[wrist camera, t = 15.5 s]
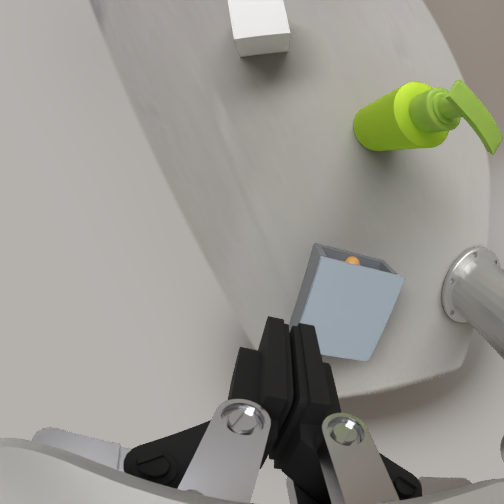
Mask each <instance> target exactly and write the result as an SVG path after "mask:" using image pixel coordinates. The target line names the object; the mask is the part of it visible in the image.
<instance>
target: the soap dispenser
mask: <svg viewBox="0 0 504 504" xmlns="http://www.w3.org/2000/svg"><path fill="white" fill-rule="evenodd" d="M461 117H463V118H464V119H465V120H466V121H467V122H468V123H469V125H470V126H471V127H472V128H473V129H474V131H475V132H476V133H477V135H478V136H479V138H480V139H481V141H482V142H483V144H484V146H485V148H486V149H487V151H488V152H490V153H491V154H492V155H494V153H495V151H496V150H497V148H498V146H499V144H500V142H501V140H502V135H501V133H500V131H499V128H498V127H497V125H496V123H495V121H494V119H493V118H492V116H491V115H490V113H489V112H488V110H487V109H486V108H485V107H484V105H483V104H482V103H481V102H480V100H479V99H478V98H477V97H476V96H475V95H474V93H473V92H472V91H471V90H470V89H469V88H468V87H467V86H466V85H465V84H464V83H463V82H462V81H461V80H457V81H455V83H454V84H453V86H452V88H451V89H450V91H448V90H446V89H443V88H434V89H433V88H432V87H430V86H429V85H427V84H424V83H421V82H410V83H407V84H405V85H403V86H401V87H399V88H398V89H396V90H394V91H392V92H390V93H389V94H387V95H385V96H383V97H382V98H380V99H378V100H376V101H375V102H373V103H371V104H369V105H368V106H366V107H364V108H363V109H361V110H360V111H359V112H358V113H357V114H356V116H355V119H354V124H353V127H354V133H355V135H356V138H357V139H358V141H359V142H360V143H361V144H362V145H363V146H364V147H366V148H367V149H369V150H372V151H387V150H400V149H416V148H432V147H436V146H438V145H440V144H441V143H442V142H443V141H444V140H445V139H446V137H447V135H448V133H449V130H453V129H455V128H456V127H457V126H458V124H459V122H460V119H461Z"/></svg>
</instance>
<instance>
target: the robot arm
mask: <svg viewBox="0 0 504 504" xmlns="http://www.w3.org/2000/svg"><path fill="white" fill-rule="evenodd" d="M442 304H443V308H444V310H445V312H446V314H447V315H448V316H449V317H450V318H451V319H452V320H453V321H455V322H459V323H467V322H469V323H470V324H471V325H472V326H473V327H474V328H475V329H476V330H477V331H478V332H479V333H480V334H481V335H482V336H483V337H484V338H485V339H486V341H487V342H488V343H489V344H490V345H491V346H492V347H493V348H494V349H495V350H496V351H497V352H498V353H499V354H500V356H501V357H503V359H504V270H503V269H502V268H500V263H499V260H498V258H497V257H496V255H495V254H494V253H493V252H492V251H490V250H489V249H487V248H484V247H474V248H471V249H469V250H467V251H466V252H464V253H463V254H462V255H461V256H460V257H459V258H458V259H457V260H456V261H455V262H454V264H453V265H452V266H451V268H450V270H449V272H448V274H447V276H446V278H445V281H444V285H443V289H442ZM500 450H501V456H502V459H503V461H504V436H503V438H502V441H501V449H500ZM268 454H269V459H273V460H274V468H277V469H282V472H284V473H285V474H286V475H287V476H288V477H287V481H286V482H287V489H288V495H289V500H290V504H504V479H491V480H486V481H481V482H477V483H473V484H472V483H471V482H470V481H469V480H467V479H464V478H435V477H420V478H419V479H417V478H416V477H415V476H414V475H413V474H411V473H410V472H408V471H407V470H405V469H403V468H402V467H400V466H399V465H397V464H396V463H394V462H392V461H391V460H389V459H388V458H386V457H385V456H383V455H382V454H380V453H379V452H378V450H377V448H376V445H375V443H374V441H373V439H372V437H371V434H370V432H369V430H368V428H367V427H366V425H365V424H364V423H363V422H362V421H361V420H360V419H358V418H357V417H355V416H353V415H350V414H347V413H341V409H340V404H339V400H338V395H337V391H336V387H335V382H334V378H333V374H332V370H331V366H330V364H328V363H323V362H322V357H321V353H320V348H319V343H318V339H317V334H316V330H315V326H313V325H308V324H303V323H298V325H297V326H292V327H291V330H290V333H289V325H288V324H284V320H283V319H279V318H274V317H269V316H268V318H267V321H266V325H265V328H264V332H263V335H262V339H261V342H260V346H259V349H258V351H257V350H252V349H248V348H243V347H240V349H239V352H238V356H237V360H236V364H235V369H234V372H233V377H232V381H231V386H230V391H229V396H228V400H227V401H225V402H223V403H222V404H220V405H219V407H218V408H217V409H216V411H215V413H214V415H213V417H212V419H211V420H210V421H208V422H205V423H203V424H200V425H198V426H195V427H192V428H190V429H187V430H184V431H182V432H179V433H176V434H173V435H170V436H168V437H164V438H162V439H158V440H155V441H153V442H149V443H146V444H143V445H140V446H137V447H135V448H133V449H129V448H124V447H121V446H120V444H119V443H114V442H108V441H104V440H100V439H95V438H91V437H87V436H83V435H79V434H76V433H72V432H68V431H65V430H61V429H58V428H52V427H49V428H43V429H41V430H40V431H38V432H37V433H36V434H35V435H34V437H33V439H32V441H30V440H24V439H17V438H0V504H253V503H250V500H251V497H252V493H253V490H254V486H255V483H256V479H257V476H258V472H259V469H261V467H262V465H263V464H264V462H265V460H266V458H267V456H268Z"/></svg>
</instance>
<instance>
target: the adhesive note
mask: <svg viewBox="0 0 504 504" xmlns="http://www.w3.org/2000/svg"><path fill="white" fill-rule="evenodd" d="M228 4H229V11H230V17H231V23H232V30H233V36H234V41H235V44H236V47H237V50H238V53H239V56H240V57H244V56H251V55H259V54H267V53H277V52H288V47H289V39H290V29H289V25H288V20H287V16H286V11H285V7H284V3H283V0H228Z"/></svg>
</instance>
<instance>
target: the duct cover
mask: <svg viewBox="0 0 504 504" xmlns="http://www.w3.org/2000/svg"><path fill="white" fill-rule="evenodd" d="M404 280H405V278H404V277H403V276H401V275H397V274H393V273H389V272H384V271H380V270H376V269H372V268H368V267H364V266H360V265H356V264H352V263H348V262H344V261H340V260H336V259H331V258H327V257H323V256H320V260H319V263H318V266H317V269H316V273H315V276H314V279H313V282H312V285H311V289H310V292H309V295H308V298H307V301H306V304H305V307H304V310H303V313H302V316H301V319H300V322H299V323H303V324H308V325H313V326H315V330H316V334H317V339H318V343H319V348H320V353H321V355H327V356H334V357H340V358H347V359H354V360H361V361H369V359H370V357H371V355H372V353H373V351H374V349H375V347H376V345H377V343H378V341H379V338H380V336H381V334H382V332H383V330H384V328H385V325H386V323H387V321H388V319H389V316H390V314H391V312H392V310H393V307H394V305H395V302H396V300H397V298H398V295H399V293H400V290H401V288H402V285H403V282H404Z"/></svg>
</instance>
